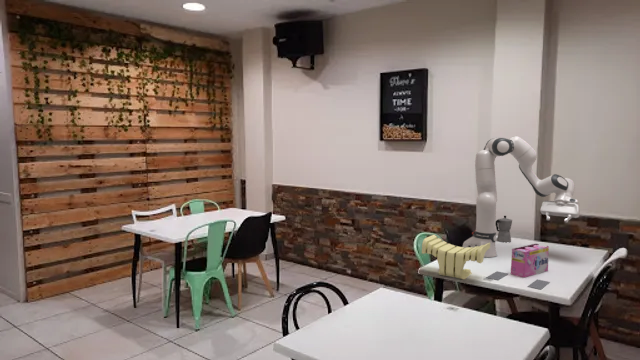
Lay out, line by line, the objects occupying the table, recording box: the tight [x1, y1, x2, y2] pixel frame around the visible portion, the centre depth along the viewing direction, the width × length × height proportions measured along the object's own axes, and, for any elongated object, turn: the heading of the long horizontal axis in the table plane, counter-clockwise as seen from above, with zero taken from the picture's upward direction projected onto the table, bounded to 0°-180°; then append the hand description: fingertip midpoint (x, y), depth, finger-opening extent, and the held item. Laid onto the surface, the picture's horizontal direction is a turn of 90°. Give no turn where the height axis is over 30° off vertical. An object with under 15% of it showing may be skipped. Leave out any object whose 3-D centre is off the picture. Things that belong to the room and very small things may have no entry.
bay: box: [485, 270, 551, 290], centre depth 223 cm, size 26×15×1 cm, turn 48°
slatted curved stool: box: [421, 234, 490, 280], centre depth 230 cm, size 30×16×18 cm, turn 54°
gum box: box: [510, 243, 550, 278], centre depth 236 cm, size 24×8×14 cm, turn 124°
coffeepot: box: [495, 215, 513, 243], centre depth 309 cm, size 15×9×18 cm, turn 116°
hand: (556, 220), depth 256 cm, fingers open, 8 cm apart
